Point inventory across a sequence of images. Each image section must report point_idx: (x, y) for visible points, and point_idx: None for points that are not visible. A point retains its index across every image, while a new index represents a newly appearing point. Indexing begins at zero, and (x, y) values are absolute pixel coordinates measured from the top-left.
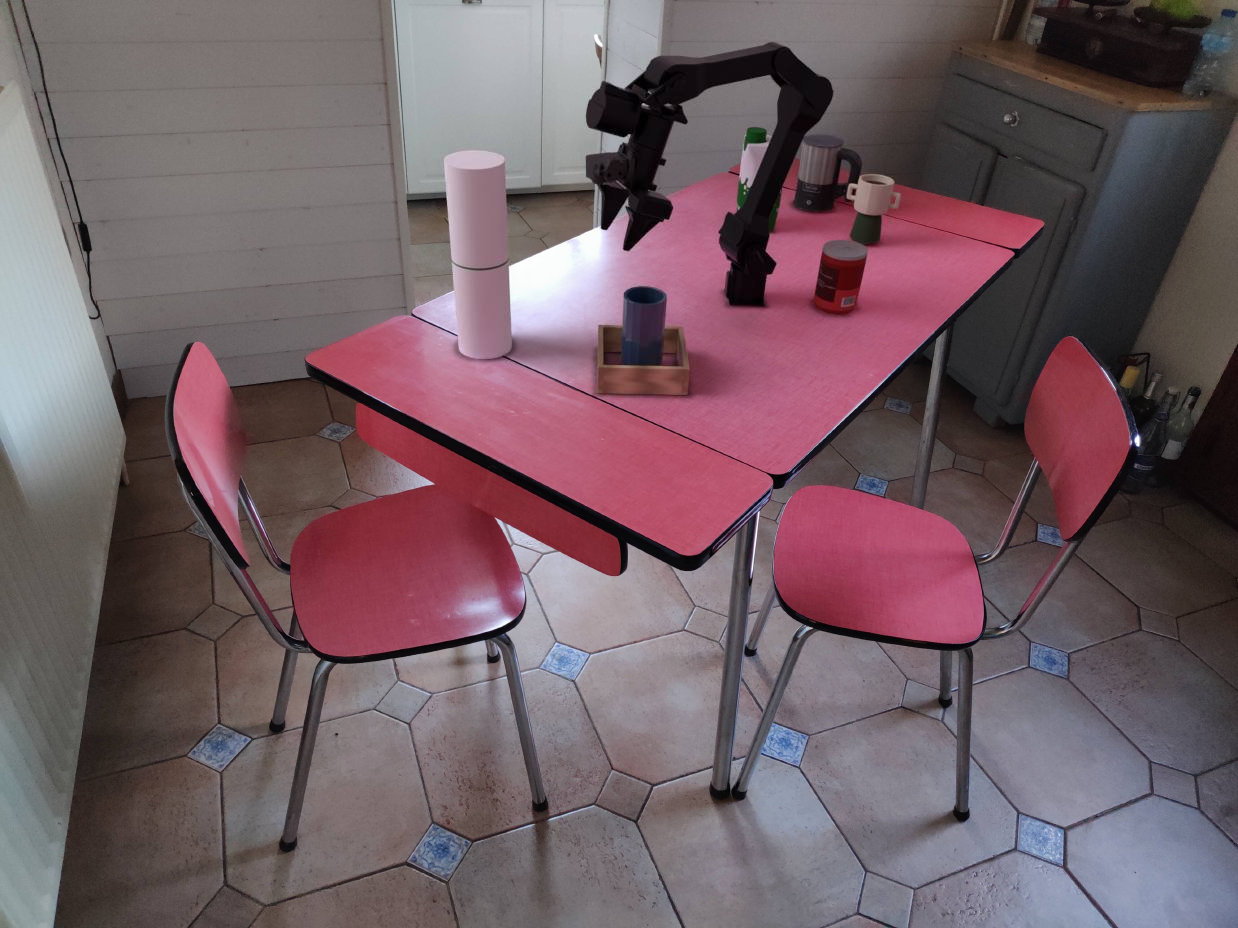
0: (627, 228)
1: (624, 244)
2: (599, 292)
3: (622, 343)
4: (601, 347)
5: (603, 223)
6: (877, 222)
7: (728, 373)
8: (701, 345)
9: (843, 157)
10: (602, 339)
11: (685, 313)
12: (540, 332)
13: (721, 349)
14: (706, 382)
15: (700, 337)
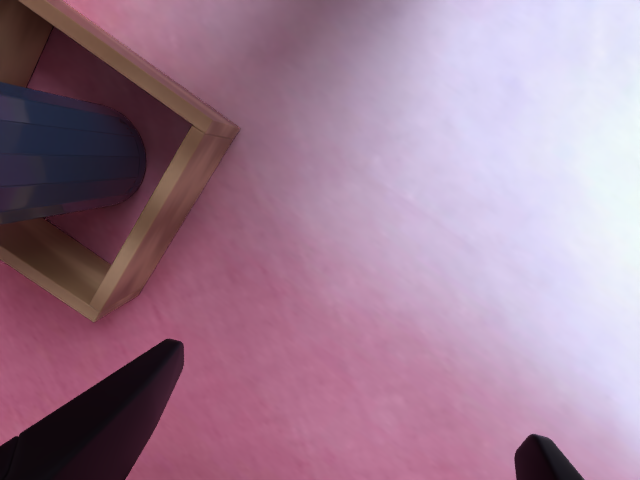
0: (40, 464)
1: (142, 360)
2: (513, 329)
3: (37, 90)
4: (80, 38)
5: (548, 477)
6: None
7: (17, 315)
8: (141, 350)
9: None
10: (123, 72)
11: (286, 423)
12: (409, 40)
13: (108, 372)
14: None
15: None
